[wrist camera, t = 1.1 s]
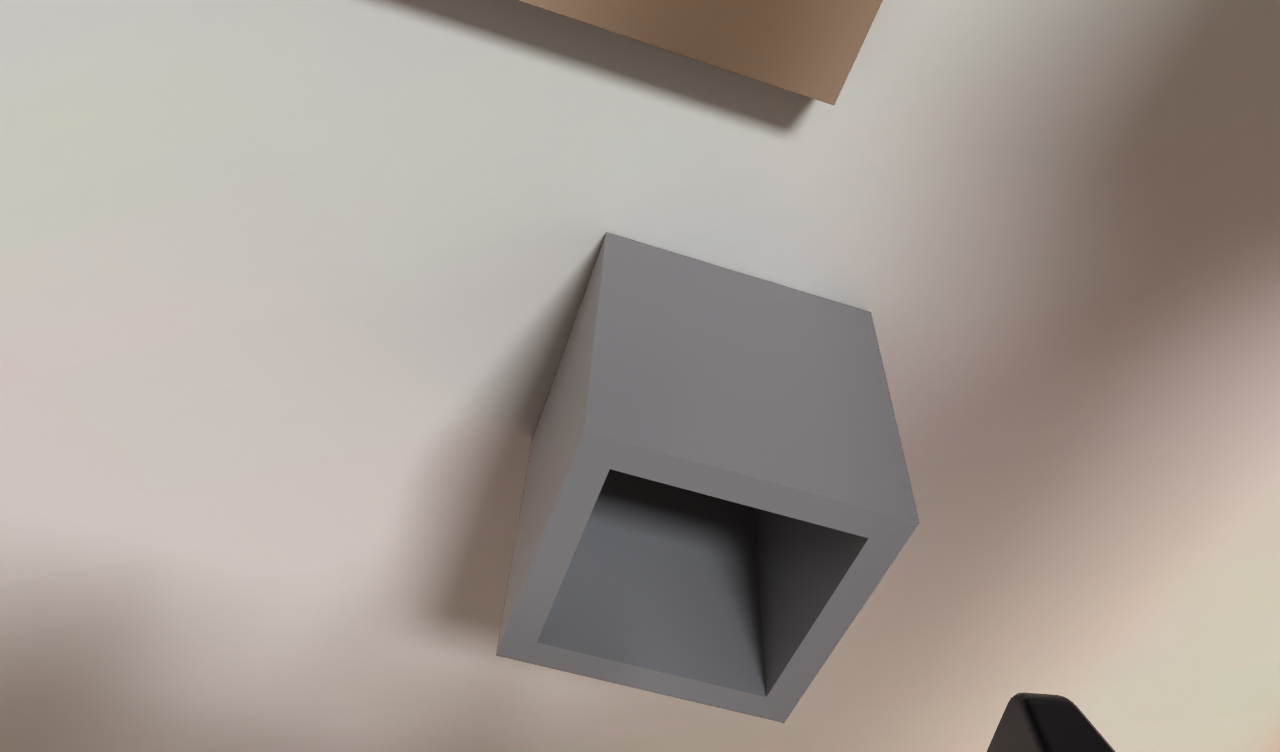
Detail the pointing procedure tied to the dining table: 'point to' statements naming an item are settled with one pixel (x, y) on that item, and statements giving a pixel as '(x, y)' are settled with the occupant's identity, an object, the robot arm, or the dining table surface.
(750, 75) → the duct base
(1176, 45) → the dining table surface
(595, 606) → the duct collar
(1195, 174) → the dining table surface
